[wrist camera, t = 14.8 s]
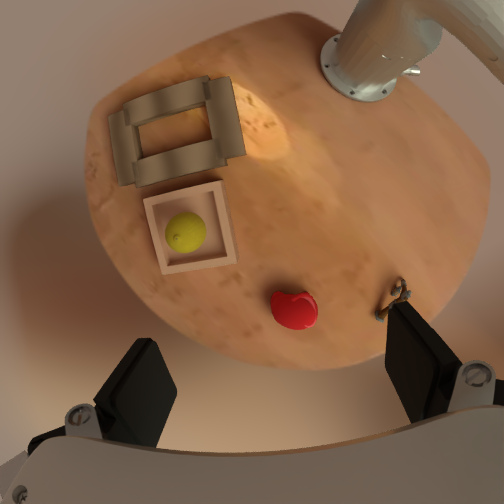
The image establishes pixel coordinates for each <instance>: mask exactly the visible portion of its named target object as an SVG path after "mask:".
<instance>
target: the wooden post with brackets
mask: <svg viewBox="0 0 504 504" xmlns="http://www.w3.org/2000/svg"><path fill="white" fill-rule="evenodd" d="M406 286H407V285H406V282H405V280H404V279H402V280H401V286H399V287H398V288H397V287H395V289H394V290H393V291H392V294H391V295H392V296H396V295H397V294H398V293H400V289H401V288H402V291H401V294H400V297H399V298H397V299H394V301H392V302H391V303H390V304H389V306H387V307H386V308H384V309H383V310H381V311H376V312H375V316H376V320H378V321H380V322H382V323H383V322H384V318H385V316H386V315H387V314H388V310H389V308H392V305H393V304H394V303H399V302H403V301H407V300H408V298H409V297H411V296H410V294H411V291H410V290H409V291H407V288H406Z"/></svg>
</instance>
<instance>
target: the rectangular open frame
mask: <svg viewBox="0 0 504 504" xmlns="http://www.w3.org/2000/svg"><path fill="white" fill-rule="evenodd" d="M202 106H206V108H207V113H208V119H209V124H210V129H211V134H212V140H207V141H203V142H199V143H195V144H192V145H188V146H184V147H181V148H177V149H173V150H170V151H167V152H163V153H160V154H157V155H153V156H150V157H147V158H144V159H143V154H142V148H141V142H140V136H139V130H138V126H141V125H144V124H146V123H149V122H152V121H155V120H158V119H161V118H164V117H167V116H170V115H174V114H177V113H180V112H184V111H187V110H191V109H194V108H198V107H202ZM108 122H109V129H110V137H111V144H112V150H113V156H114V162H115V168H116V173H117V179H118V184H119V186H126V185H130V184H133V183H135V184H136V188H138V187H144V186H147V185H151V184H154V183H158V182H162V181H165V180H169V179H173V178H177V177H180V176H184V175H188V174H192V173H197V172H201V171H205V170H209V169H214V168H218V167H223V166H228V165H227V160H226V159H229V158H233V157H238V156H243V155H246V150H245V145H244V140H243V135H242V130H241V125H240V120H239V116H238V111H237V106H236V101H235V96H234V91H233V86H232V82H231V79H230V77H229V76H227V77H223V78H219V79H215V80H210V78H209V77H208V75H207V76H203V77H199V78H196V79H192V80H189V81H185V82H182V83H179V84H176V85H172V86H169V87H166V88H163V89H160V90H158V91H155V92H152V93H149V94H147V95H144V96H141V97H139V98H136V99H134V100H131V101H129V102H126V103H124V104H123V110H121V111H119V112H116V113H114V114H112V115H109V116H108Z"/></svg>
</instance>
